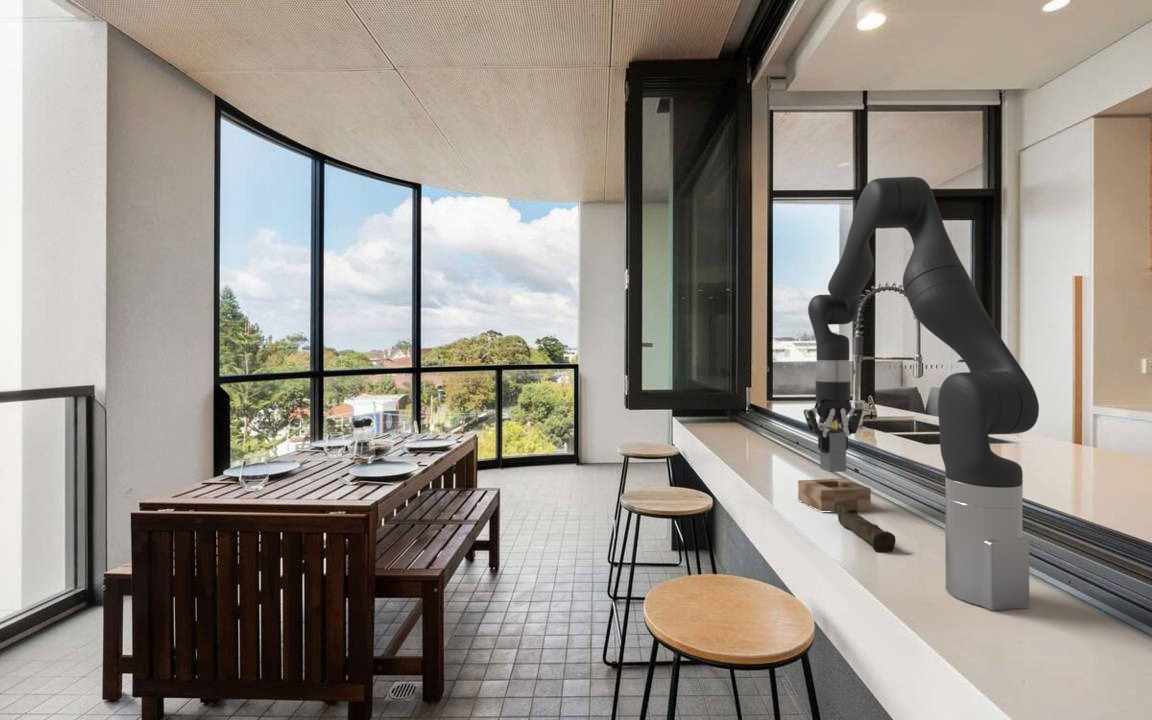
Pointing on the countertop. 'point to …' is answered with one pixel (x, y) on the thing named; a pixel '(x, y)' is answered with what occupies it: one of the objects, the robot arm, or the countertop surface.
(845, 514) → the dark brown rod
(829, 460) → the bit
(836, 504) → the housing
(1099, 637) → the countertop surface
